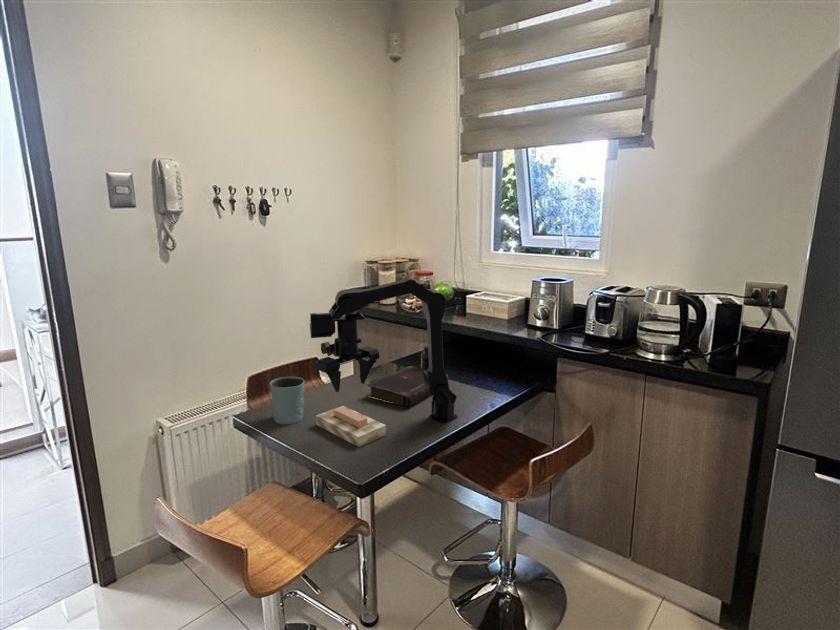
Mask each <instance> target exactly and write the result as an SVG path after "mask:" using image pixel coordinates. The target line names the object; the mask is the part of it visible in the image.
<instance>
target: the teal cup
mask: <svg viewBox="0 0 840 630" xmlns="http://www.w3.org/2000/svg"><path fill="white" fill-rule="evenodd" d="M305 382H306V381H305V379H304V378H302V377H299V376H281V377H277V378H274V379H272V380H271V381H270V382H269V387H270V393H271V401H272V402H271V403H272V407H273V416H274V417H273V418H274V422H275V423H277V424H278V425H292V424H293V425H294V424H296V423H299V422H300V421H302V420H303V418H304V396H305Z"/></svg>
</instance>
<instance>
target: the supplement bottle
mask: <svg viewBox="0 0 840 630" xmlns="http://www.w3.org/2000/svg"><path fill="white" fill-rule="evenodd" d="M422 350H423V352H422V353H421V354H420V368H423V369H427V370H428V367H429V355H428V344H425V345H424V346H423V349H422Z"/></svg>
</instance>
